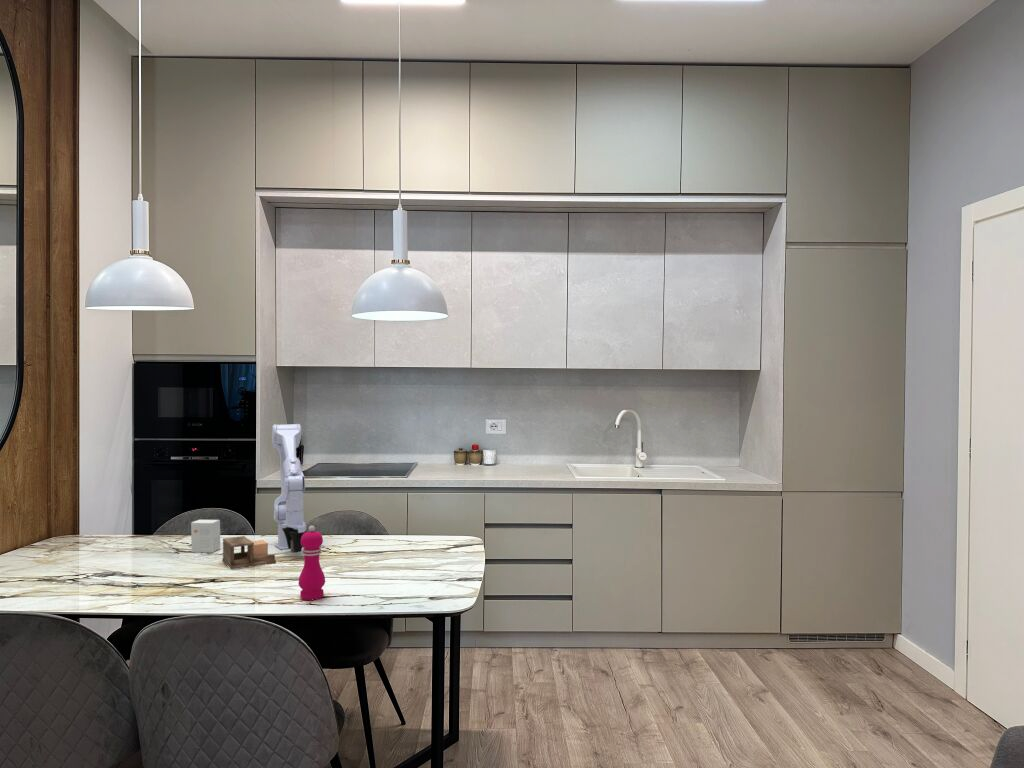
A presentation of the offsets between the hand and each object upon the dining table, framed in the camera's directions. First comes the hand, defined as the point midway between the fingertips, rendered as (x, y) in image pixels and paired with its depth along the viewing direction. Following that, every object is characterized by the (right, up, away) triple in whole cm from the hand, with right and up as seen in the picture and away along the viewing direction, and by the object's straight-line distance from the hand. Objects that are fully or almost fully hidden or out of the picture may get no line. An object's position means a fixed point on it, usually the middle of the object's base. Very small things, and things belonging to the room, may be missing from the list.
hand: (294, 550), depth 256 cm
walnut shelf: (-13, -2, -9) cm, 15 cm away
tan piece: (-6, -1, -4) cm, 7 cm away
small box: (-33, -2, +7) cm, 34 cm away
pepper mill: (+18, -3, -47) cm, 50 cm away
